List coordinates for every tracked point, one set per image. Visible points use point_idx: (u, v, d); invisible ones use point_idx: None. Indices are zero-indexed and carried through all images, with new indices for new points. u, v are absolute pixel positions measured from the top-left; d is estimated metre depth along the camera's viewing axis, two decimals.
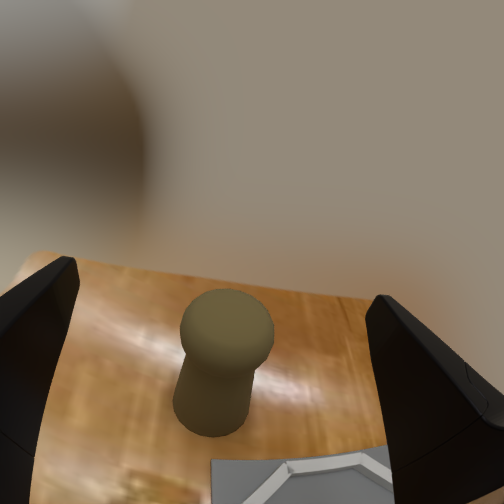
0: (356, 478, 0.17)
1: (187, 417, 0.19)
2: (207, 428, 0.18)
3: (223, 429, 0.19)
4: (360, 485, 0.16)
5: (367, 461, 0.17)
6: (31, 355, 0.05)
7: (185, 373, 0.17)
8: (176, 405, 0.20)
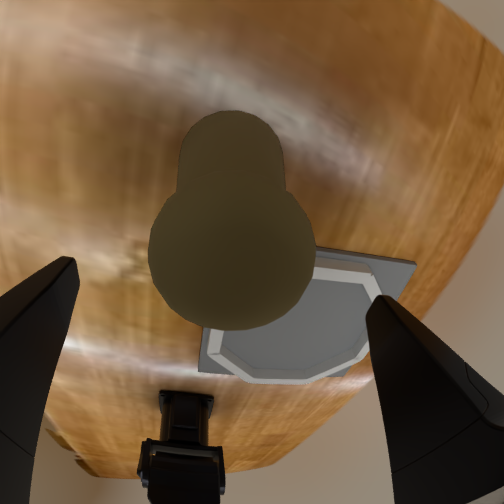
0: (354, 283, 0.23)
1: None
2: None
3: None
4: (352, 290, 0.23)
5: (370, 283, 0.21)
6: (31, 355, 0.05)
7: None
8: None
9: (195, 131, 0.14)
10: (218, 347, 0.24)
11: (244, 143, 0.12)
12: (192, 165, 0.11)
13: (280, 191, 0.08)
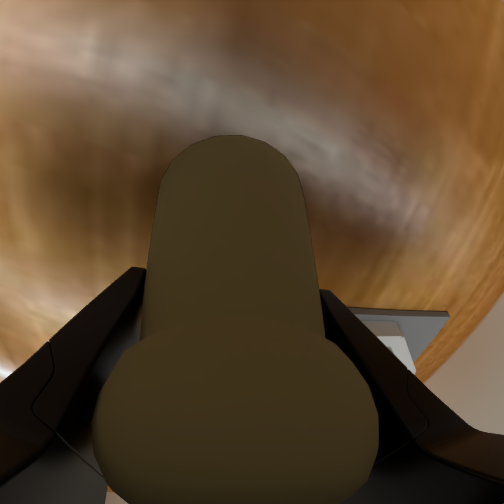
0: None
1: None
2: None
3: None
4: None
5: (399, 345, 0.16)
6: None
7: None
8: None
9: (176, 171, 0.10)
10: None
11: (252, 210, 0.07)
12: (163, 253, 0.07)
13: (337, 390, 0.04)
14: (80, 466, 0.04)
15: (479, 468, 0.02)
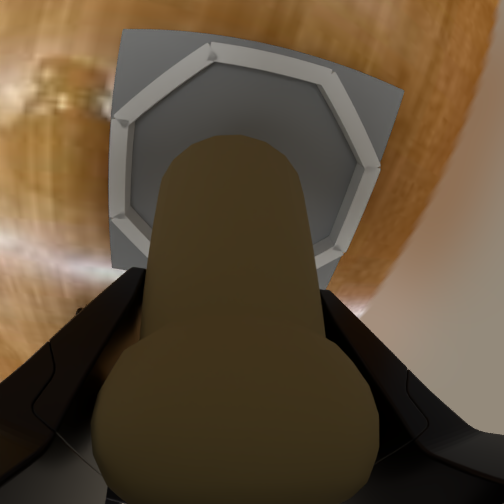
0: (313, 100, 0.15)
1: None
2: None
3: None
4: (313, 113, 0.15)
5: (333, 87, 0.13)
6: None
7: None
8: None
9: (176, 170, 0.10)
10: (122, 202, 0.16)
11: (253, 209, 0.07)
12: (163, 253, 0.07)
13: (338, 390, 0.03)
14: (81, 466, 0.04)
15: (479, 467, 0.02)
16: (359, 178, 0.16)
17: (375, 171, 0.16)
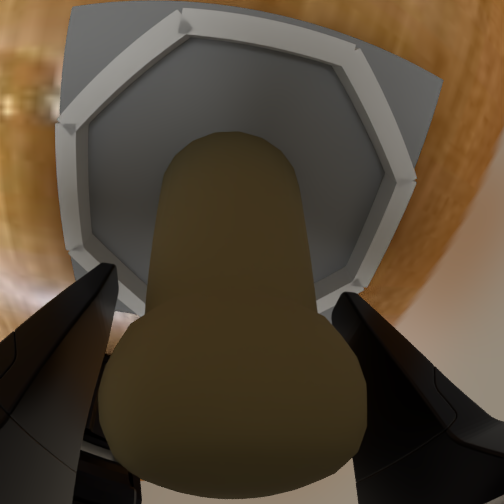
0: (328, 88, 0.10)
1: None
2: None
3: None
4: (329, 106, 0.11)
5: (358, 69, 0.09)
6: (78, 368, 0.05)
7: None
8: None
9: (178, 165, 0.10)
10: (78, 231, 0.12)
11: (249, 199, 0.08)
12: (166, 239, 0.07)
13: (324, 353, 0.04)
14: (40, 452, 0.03)
15: None
16: (389, 195, 0.12)
17: (410, 185, 0.12)
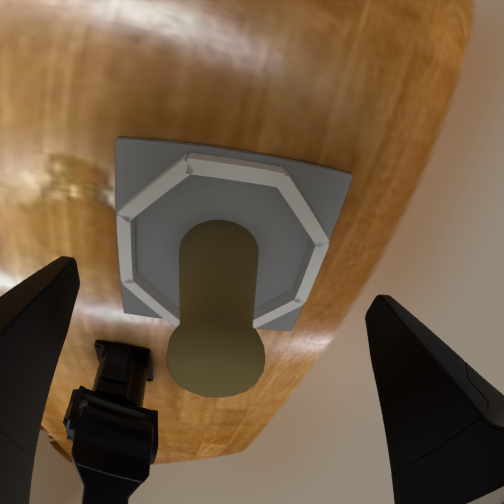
0: (273, 193, 0.20)
1: None
2: None
3: None
4: (273, 203, 0.21)
5: (287, 187, 0.19)
6: (31, 355, 0.05)
7: None
8: None
9: (189, 242, 0.20)
10: (130, 272, 0.22)
11: (224, 270, 0.18)
12: (188, 288, 0.17)
13: (240, 333, 0.14)
14: None
15: None
16: (312, 251, 0.22)
17: (325, 245, 0.21)
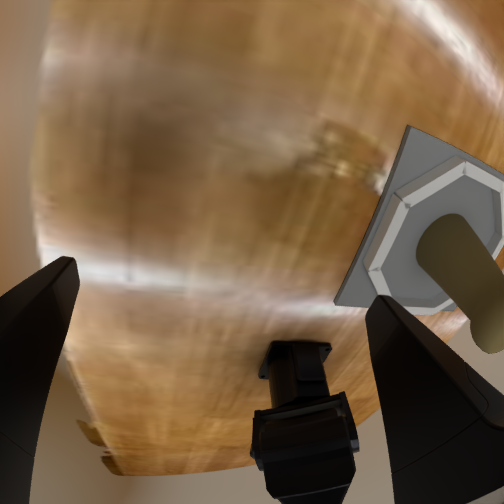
0: (488, 196, 0.20)
1: (427, 272, 0.22)
2: None
3: None
4: (486, 203, 0.20)
5: None
6: (31, 355, 0.05)
7: (457, 293, 0.18)
8: (424, 258, 0.22)
9: (444, 231, 0.20)
10: (383, 259, 0.21)
11: (488, 253, 0.17)
12: (474, 268, 0.17)
13: None
14: None
15: None
16: (498, 242, 0.22)
17: None
